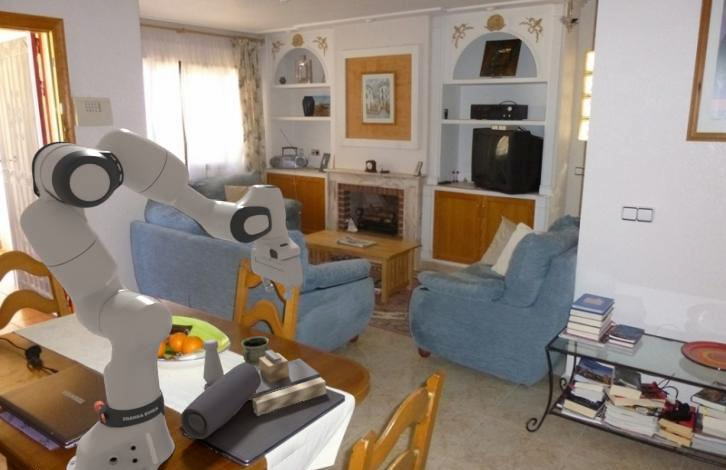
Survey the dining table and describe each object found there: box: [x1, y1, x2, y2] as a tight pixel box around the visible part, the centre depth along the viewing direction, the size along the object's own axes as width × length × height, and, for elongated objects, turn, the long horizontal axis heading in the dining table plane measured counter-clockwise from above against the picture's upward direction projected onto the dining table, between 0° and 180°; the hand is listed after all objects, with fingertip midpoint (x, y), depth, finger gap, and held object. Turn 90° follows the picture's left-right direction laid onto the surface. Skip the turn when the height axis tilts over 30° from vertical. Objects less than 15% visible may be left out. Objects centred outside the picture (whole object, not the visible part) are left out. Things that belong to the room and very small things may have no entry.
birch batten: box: [251, 376, 327, 414], centre depth 146 cm, size 20×3×4 cm, turn 123°
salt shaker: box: [202, 338, 225, 386], centre depth 158 cm, size 6×6×13 cm
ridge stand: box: [255, 349, 321, 394], centre depth 158 cm, size 22×13×8 cm, turn 123°
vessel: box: [241, 336, 271, 366], centre depth 173 cm, size 12×9×6 cm
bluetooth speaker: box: [180, 362, 261, 440], centre depth 138 cm, size 23×9×10 cm, turn 159°
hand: (278, 295), depth 145 cm, fingers open, 8 cm apart
